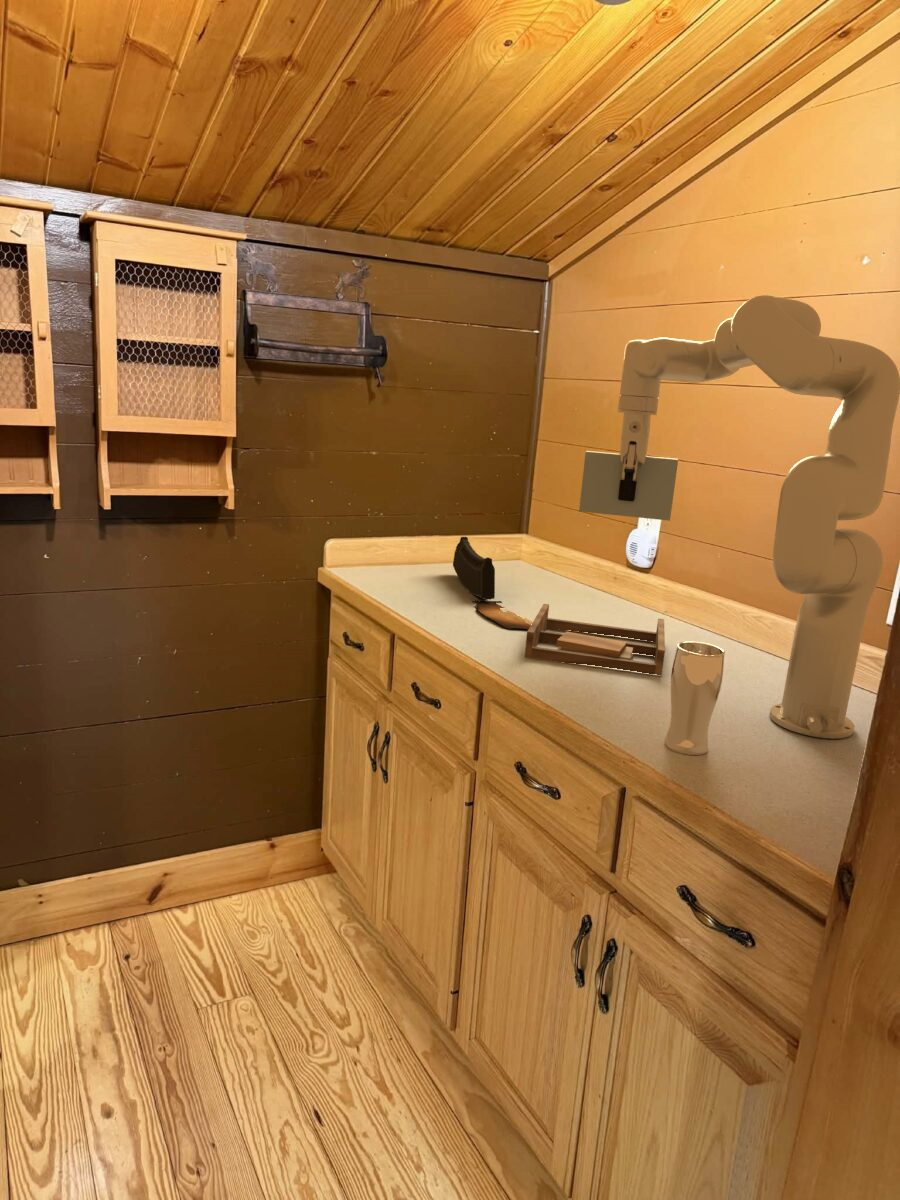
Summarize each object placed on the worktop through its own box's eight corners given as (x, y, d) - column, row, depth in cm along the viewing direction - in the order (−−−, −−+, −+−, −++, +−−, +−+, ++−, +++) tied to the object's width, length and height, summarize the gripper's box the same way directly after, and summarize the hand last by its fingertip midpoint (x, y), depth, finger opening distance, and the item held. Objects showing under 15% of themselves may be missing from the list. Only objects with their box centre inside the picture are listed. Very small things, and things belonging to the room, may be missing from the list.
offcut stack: (627, 671, 156) (630, 653, 155) (553, 658, 160) (555, 640, 159) (633, 659, 164) (636, 642, 163) (562, 647, 168) (564, 630, 167)
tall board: (670, 520, 166) (678, 459, 163) (579, 511, 170) (585, 451, 167) (669, 518, 169) (677, 458, 166) (580, 509, 173) (586, 450, 170)
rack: (661, 676, 153) (665, 650, 152) (524, 657, 158) (527, 631, 157) (660, 642, 175) (664, 619, 174) (541, 626, 181) (543, 603, 179)
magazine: (500, 568, 192) (472, 512, 217) (486, 568, 191) (460, 511, 216) (488, 631, 201) (463, 569, 226) (475, 631, 200) (451, 569, 225)
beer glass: (686, 734, 126) (701, 639, 123) (721, 753, 121) (737, 653, 117) (651, 740, 123) (665, 643, 120) (685, 759, 117) (700, 657, 114)
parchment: (545, 632, 177) (546, 628, 177) (503, 632, 174) (503, 628, 174) (500, 603, 200) (500, 600, 200) (462, 603, 197) (462, 599, 196)
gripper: (657, 407, 156) (644, 506, 160) (657, 407, 171) (645, 497, 176) (616, 404, 157) (605, 502, 162) (620, 404, 173) (609, 493, 177)
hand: (626, 498), depth 169 cm, fingers closed on tall board, 3 cm apart
